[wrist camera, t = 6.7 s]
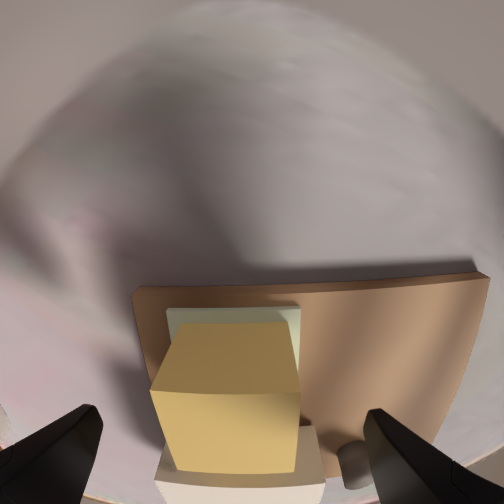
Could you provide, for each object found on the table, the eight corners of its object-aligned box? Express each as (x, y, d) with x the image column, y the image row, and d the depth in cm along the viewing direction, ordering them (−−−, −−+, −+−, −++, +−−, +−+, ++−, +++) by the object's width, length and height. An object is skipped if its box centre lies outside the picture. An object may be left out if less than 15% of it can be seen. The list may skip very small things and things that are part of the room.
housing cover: (314, 425, 12) (326, 483, 9) (304, 483, 14) (310, 529, 10) (170, 425, 13) (153, 480, 9) (190, 482, 14) (182, 527, 11)
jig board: (478, 271, 12) (521, 295, 8) (420, 446, 15) (436, 479, 12) (139, 286, 12) (104, 323, 9) (186, 468, 15) (177, 508, 12)
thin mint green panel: (299, 305, 11) (300, 308, 11) (295, 403, 12) (295, 407, 12) (168, 307, 11) (166, 311, 11) (186, 403, 12) (184, 407, 12)
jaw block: (287, 321, 11) (301, 391, 7) (286, 400, 12) (293, 472, 8) (181, 323, 11) (149, 390, 7) (194, 400, 12) (177, 469, 8)
